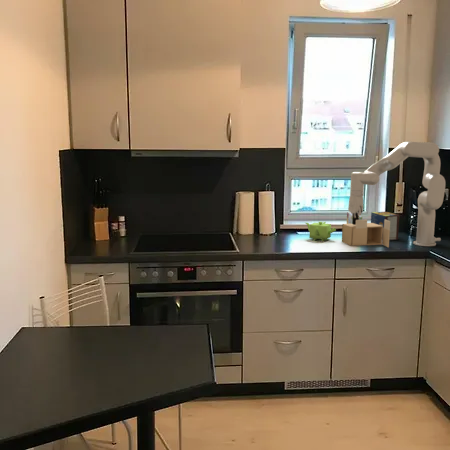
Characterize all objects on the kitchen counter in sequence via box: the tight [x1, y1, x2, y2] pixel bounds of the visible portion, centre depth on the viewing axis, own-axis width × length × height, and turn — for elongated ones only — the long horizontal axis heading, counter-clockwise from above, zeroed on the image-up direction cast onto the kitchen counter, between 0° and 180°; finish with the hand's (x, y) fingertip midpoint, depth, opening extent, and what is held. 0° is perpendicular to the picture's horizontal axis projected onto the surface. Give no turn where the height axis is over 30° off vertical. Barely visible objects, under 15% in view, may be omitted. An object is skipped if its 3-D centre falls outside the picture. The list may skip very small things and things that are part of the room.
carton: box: [341, 222, 383, 247], centre depth 316 cm, size 20×12×11 cm, turn 103°
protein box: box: [370, 211, 400, 241], centre depth 333 cm, size 10×15×16 cm
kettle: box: [305, 221, 337, 242], centre depth 326 cm, size 15×14×11 cm
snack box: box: [346, 211, 363, 224], centre depth 332 cm, size 21×6×15 cm, turn 179°
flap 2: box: [382, 220, 390, 248], centre depth 307 cm, size 9×1×15 cm, turn 5°
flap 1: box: [351, 219, 368, 247], centre depth 308 cm, size 9×1×15 cm, turn 103°
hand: (355, 224), depth 311 cm, fingers closed
